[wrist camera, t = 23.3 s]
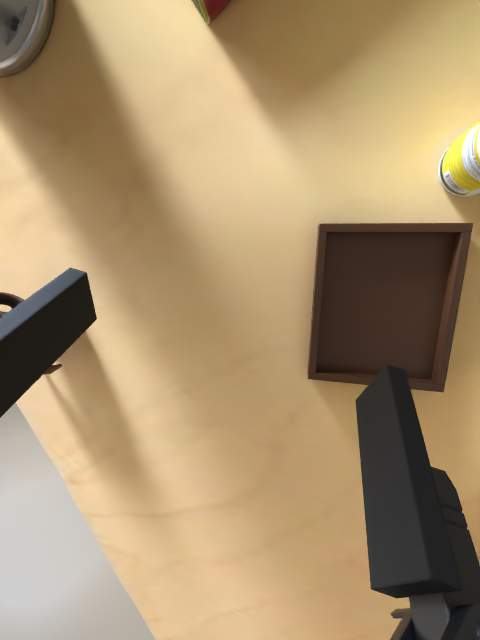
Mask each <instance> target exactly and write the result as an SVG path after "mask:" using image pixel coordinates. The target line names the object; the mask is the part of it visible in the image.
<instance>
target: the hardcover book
mask: <svg viewBox="0 0 480 640" xmlns="http://www.w3.org/2000/svg"><path fill="white" fill-rule="evenodd" d="M192 1H193V3H194V5H195V6H196V8H197V10H198V11H199V13H200V14H201V16H202V18H203V19H204V21H205V23H206V24H207V25H208V24H209V23H210V22H211V21H212V20H213V19H214V18H215V17H216V16H217V15H218V14H219V13H220V12H221V11H222V10H223V9H224V8H225V7H226V6H227V5H228V4H229V3H230V2H231V1H232V0H192Z"/></svg>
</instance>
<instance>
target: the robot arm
mask: <svg viewBox="0 0 480 640" xmlns="http://www.w3.org/2000/svg"><path fill="white" fill-rule="evenodd" d="M53 9H54V0H0V76H7V75H11V74H14V73H17V72H19V71H21V70H22V69H24V68H25V67H26V66H28V65H29V64H30V63H31V62H32V61H33V60H34V59H35V57H36V56H37V55H38V53H39V52H40V50H41V49H42V47H43V45H44V43H45V41H46V38H47V36H48V33H49V30H50V26H51V22H52V16H53ZM96 319H97V317H96V313H95V308H94V304H93V299H92V295H91V290H90V286H89V281H88V276H87V273H86V272H83V271H79V270H76V269H73V268H69V269H68V270H66V271H65V272H64V273H62V274H61V275H59V276H58V277H57V278H55V279H54V280H53V281H51V282H50V283H48V284H47V285H46V286H44V287H43V288H41V289H40V290H39V291H37V292H36V293H34V294H33V295H32V296H30V297H29V298H27V299H26V300H25V301H23V302H22V303H21V304H19V305H18V306H16V307H15V308H14V309H12V310H11V311H9V312H8V313H7V314H5V315H4V316H2V317H1V318H0V417H1V416H2V415H3V414H4V413H5V412H6V411H7V410H8V409H9V408H10V407H11V406H12V405H13V404H14V403H15V402H16V401H17V400H18V399H19V398H20V397H21V396H22V395H23V394H24V393H25V392H26V391H27V390H28V389H29V388H30V387H31V386H32V385H33V384H34V383H35V382H36V381H37V380H38V379H39V378H40V377H41V376H42V375H43V374H44V373H45V371H46V370H47V369H48V368H49V367H50V366H51V365H52V364H53V363H54V362H55V361H56V360H57V359H58V358H59V357H60V356H61V355H62V354H63V353H64V352H65V351H66V350H67V349H68V348H69V347H70V346H71V345H72V344H73V343H74V342H75V341H76V340H77V339H78V338H79V337H80V336H81V335H82V334H83V333H84V332H85V331H86V330H87V329H88V328H89V327H90V326H91V325H92V323H93V322H94V321H95V320H96ZM356 410H357V423H358V435H359V447H360V459H361V471H362V484H363V496H364V508H365V520H366V533H367V545H368V557H369V569H370V581H371V589H372V590H375V591H378V592H380V593H383V594H386V595H389V596H392V597H395V598H403V597H409V601H410V607H411V608H407V609H396V610H394V611H393V612H392V613H391V615H392V616H393V618H402V620H401V621H400V623H399V625H398V627H397V628H396V630H395V632H394V634H393V635H392V637H391V639H390V640H480V564H479V561H478V558H477V555H476V552H475V548H474V545H473V542H472V539H471V535H470V532H469V530H467V523H466V519H465V516H464V514H463V513H462V506H461V503H460V500H459V497H458V494H457V490H456V489H455V487H454V485H453V484H452V482H451V480H450V479H449V477H448V475H447V474H446V472H445V471H443V470H440V469H437V468H433V467H431V465H430V461H429V458H428V454H427V450H426V446H425V442H424V439H423V435H422V431H421V427H420V423H419V420H418V416H417V412H416V408H415V404H414V401H413V397H412V393H411V389H410V385H409V382H408V378H407V374H406V370H404V369H401V368H398V367H395V366H391V365H388V364H386V365H385V367H384V368H383V369H382V370H381V371H380V372H379V374H378V375H377V376H376V377H375V378H374V379H373V381H372V382H371V383H370V384H369V385H368V387H367V388H366V389H365V390H364V391H363V392H362V394H361V395H360V396H359V397H358V398H357V399H356Z"/></svg>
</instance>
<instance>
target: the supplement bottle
mask: <svg viewBox="0 0 480 640" xmlns="http://www.w3.org/2000/svg"><path fill="white" fill-rule="evenodd" d="M438 176H439V180H440V183H441V185H442V186H443V187H444V189H446V190H447V191H448V192H449V193H451V194H453V195H456V196H462V197H467V196H474V195H477V194H480V121H479V122H477V123H476V124H475V125H474V126H473V127H471V128H470V129H469V130H468V131H467V132H465V133H464V134H463V135H462V136H460V137H459V138H458V139H457V140H456V141H455V142H453V143H452V144H451V145H450V146H449V147H448V148H447V150H446V151H445V152H444V154H443V156H442V158H441V160H440V163H439V167H438Z"/></svg>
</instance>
